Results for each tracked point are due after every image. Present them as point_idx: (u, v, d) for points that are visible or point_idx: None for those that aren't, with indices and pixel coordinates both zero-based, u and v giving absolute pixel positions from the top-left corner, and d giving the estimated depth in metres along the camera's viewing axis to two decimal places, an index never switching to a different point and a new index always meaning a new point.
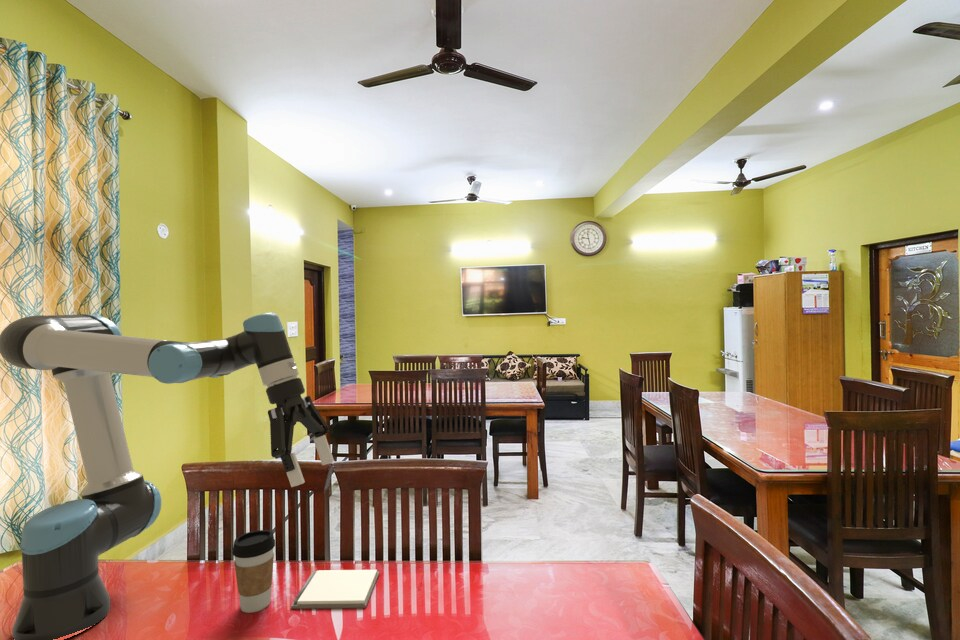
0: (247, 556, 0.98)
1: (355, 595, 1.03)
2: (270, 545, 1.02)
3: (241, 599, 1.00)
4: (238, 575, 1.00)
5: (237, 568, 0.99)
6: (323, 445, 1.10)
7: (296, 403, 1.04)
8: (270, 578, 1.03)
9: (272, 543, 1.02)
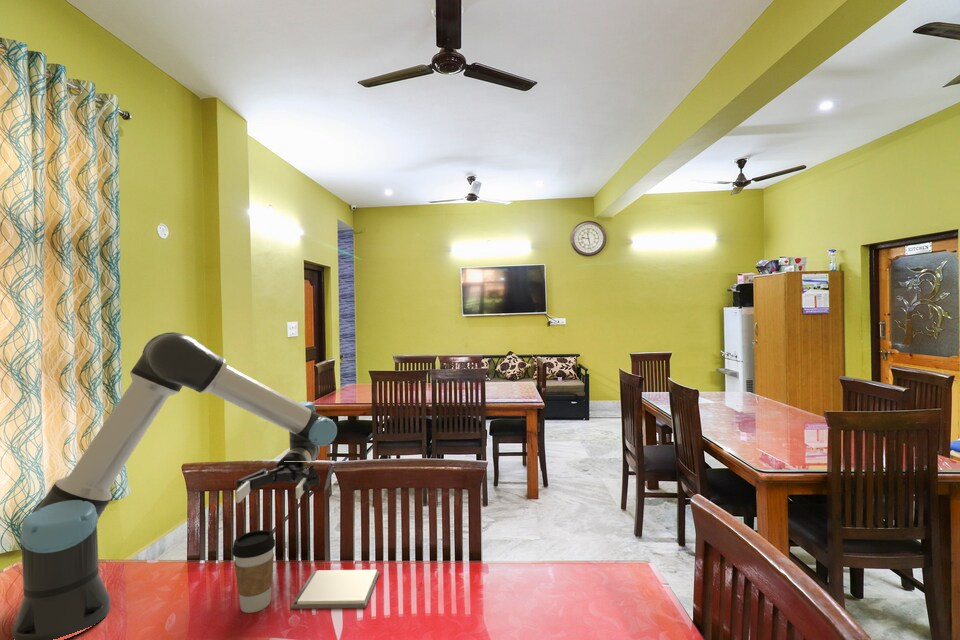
0: (247, 556, 0.98)
1: (355, 595, 1.03)
2: (270, 545, 1.02)
3: (241, 599, 1.00)
4: (238, 575, 1.00)
5: (237, 568, 0.99)
6: (246, 492, 1.15)
7: None
8: (270, 578, 1.03)
9: (272, 543, 1.02)
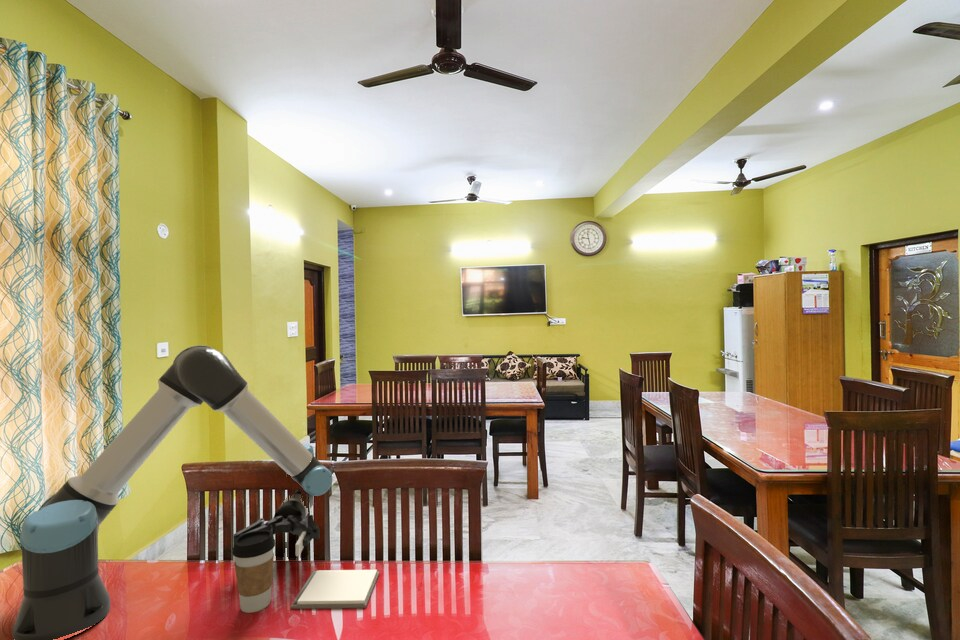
0: (247, 556, 0.98)
1: (355, 595, 1.03)
2: (270, 545, 1.02)
3: (241, 599, 1.00)
4: (238, 575, 1.00)
5: (237, 568, 0.99)
6: None
7: None
8: (270, 578, 1.03)
9: (272, 543, 1.02)
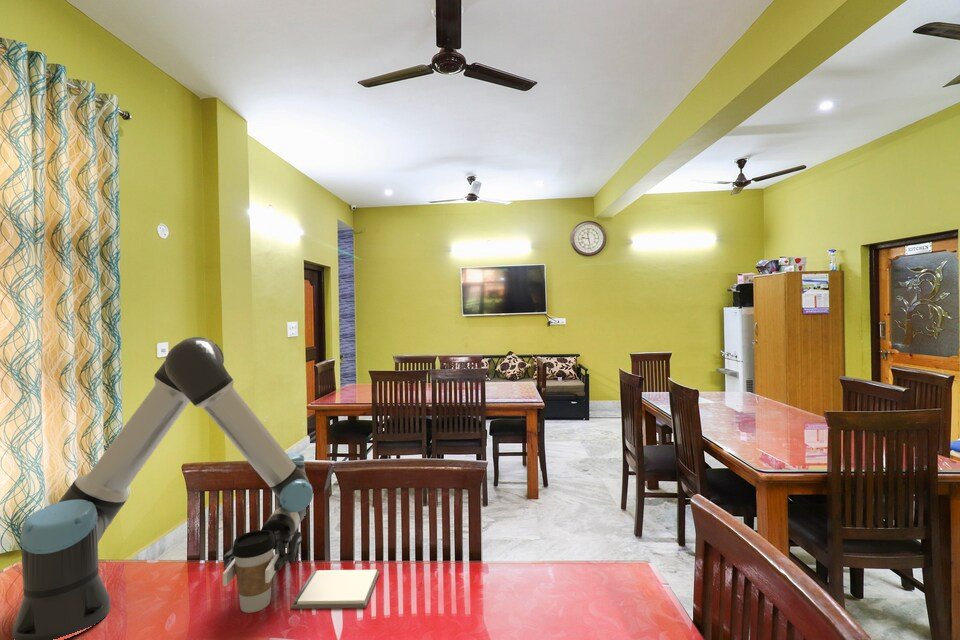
0: (247, 556, 0.98)
1: (355, 595, 1.03)
2: (270, 545, 1.02)
3: (241, 599, 1.00)
4: (238, 575, 1.00)
5: (237, 568, 0.99)
6: None
7: None
8: None
9: (272, 543, 1.02)
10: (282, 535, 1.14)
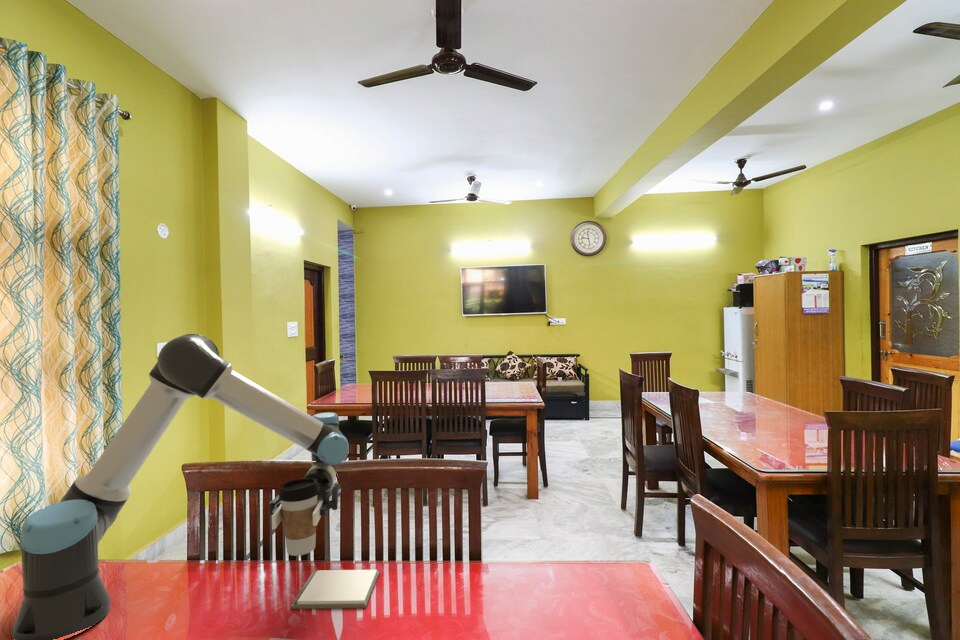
0: (294, 500, 1.01)
1: (355, 595, 1.03)
2: (315, 491, 1.04)
3: (288, 543, 1.03)
4: (285, 519, 1.02)
5: (284, 512, 1.02)
6: (281, 515, 1.04)
7: None
8: None
9: (317, 489, 1.05)
10: (322, 487, 1.17)
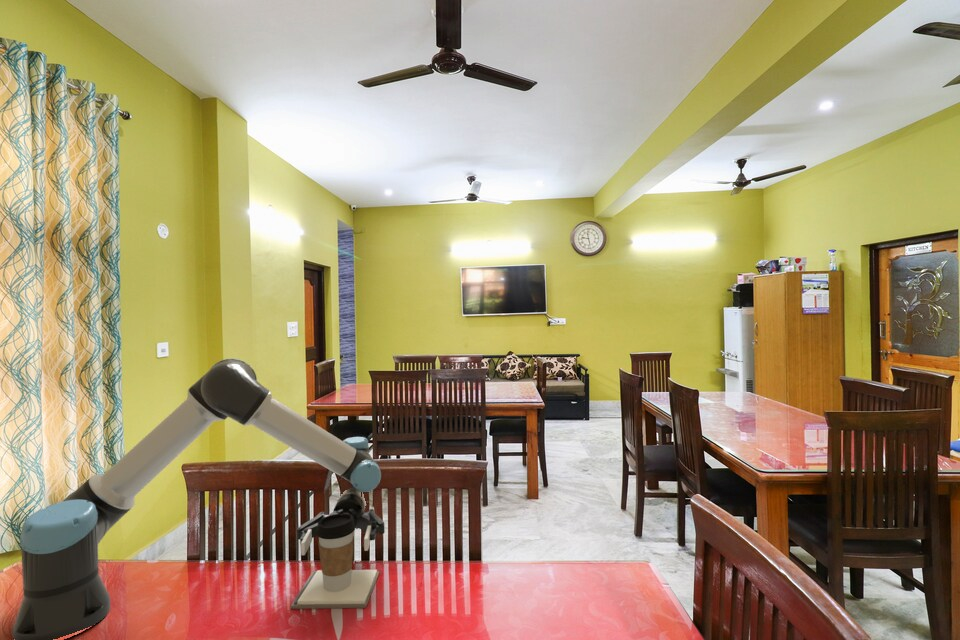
0: (333, 537, 1.03)
1: (355, 595, 1.03)
2: (352, 527, 1.06)
3: (325, 579, 1.05)
4: (323, 556, 1.04)
5: (322, 549, 1.04)
6: (309, 541, 1.08)
7: None
8: (351, 559, 1.07)
9: (353, 525, 1.07)
10: None
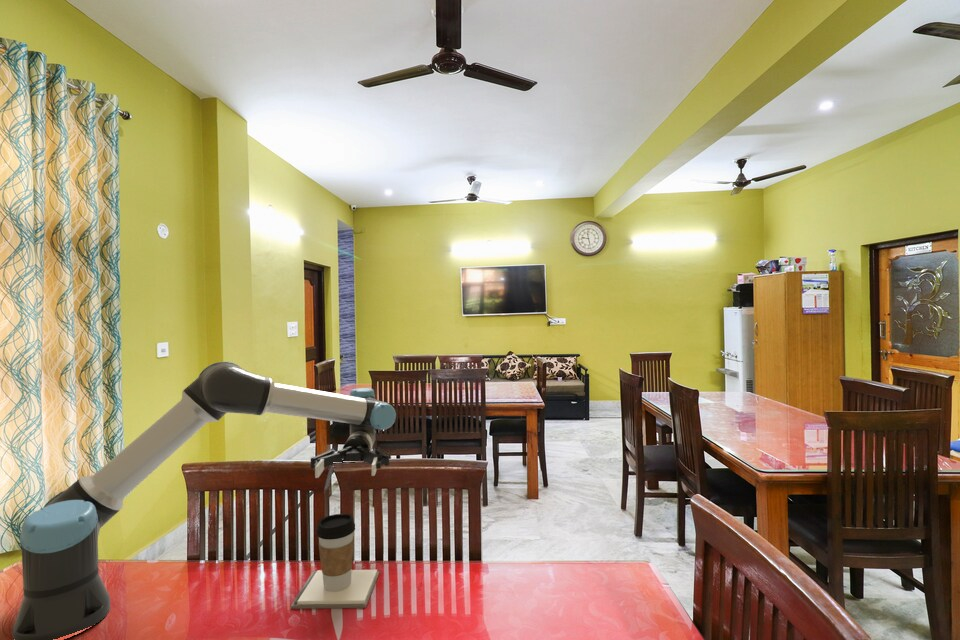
0: (332, 537, 1.03)
1: (355, 595, 1.03)
2: (352, 527, 1.06)
3: (325, 579, 1.05)
4: (323, 556, 1.04)
5: (322, 549, 1.04)
6: (322, 468, 1.21)
7: None
8: (351, 559, 1.07)
9: (353, 526, 1.07)
10: None
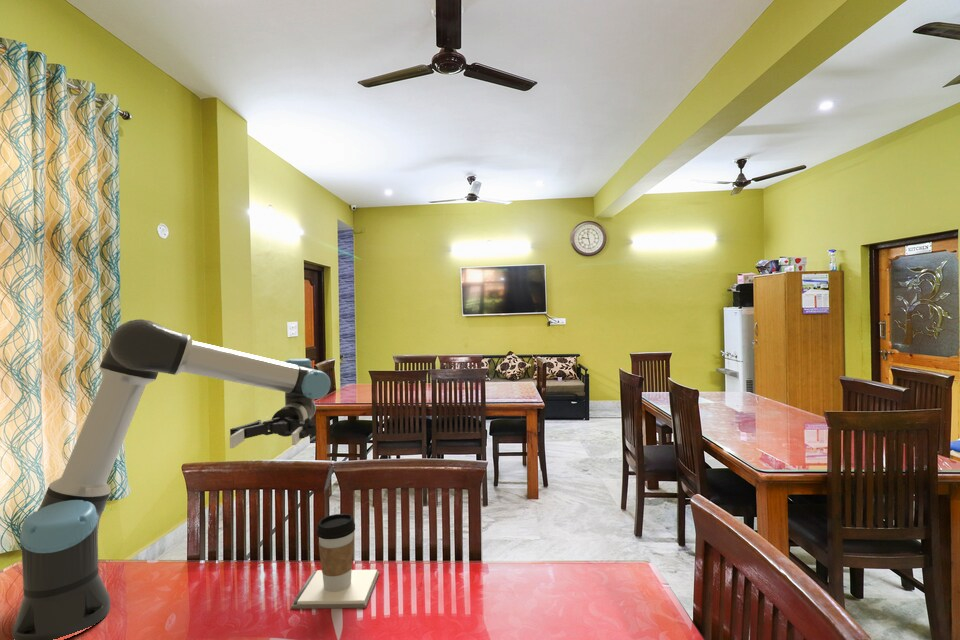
0: (333, 537, 1.03)
1: (355, 595, 1.03)
2: (352, 527, 1.06)
3: (325, 579, 1.05)
4: (323, 556, 1.04)
5: (322, 549, 1.04)
6: (240, 439, 1.12)
7: None
8: (351, 559, 1.07)
9: (353, 526, 1.07)
10: None
